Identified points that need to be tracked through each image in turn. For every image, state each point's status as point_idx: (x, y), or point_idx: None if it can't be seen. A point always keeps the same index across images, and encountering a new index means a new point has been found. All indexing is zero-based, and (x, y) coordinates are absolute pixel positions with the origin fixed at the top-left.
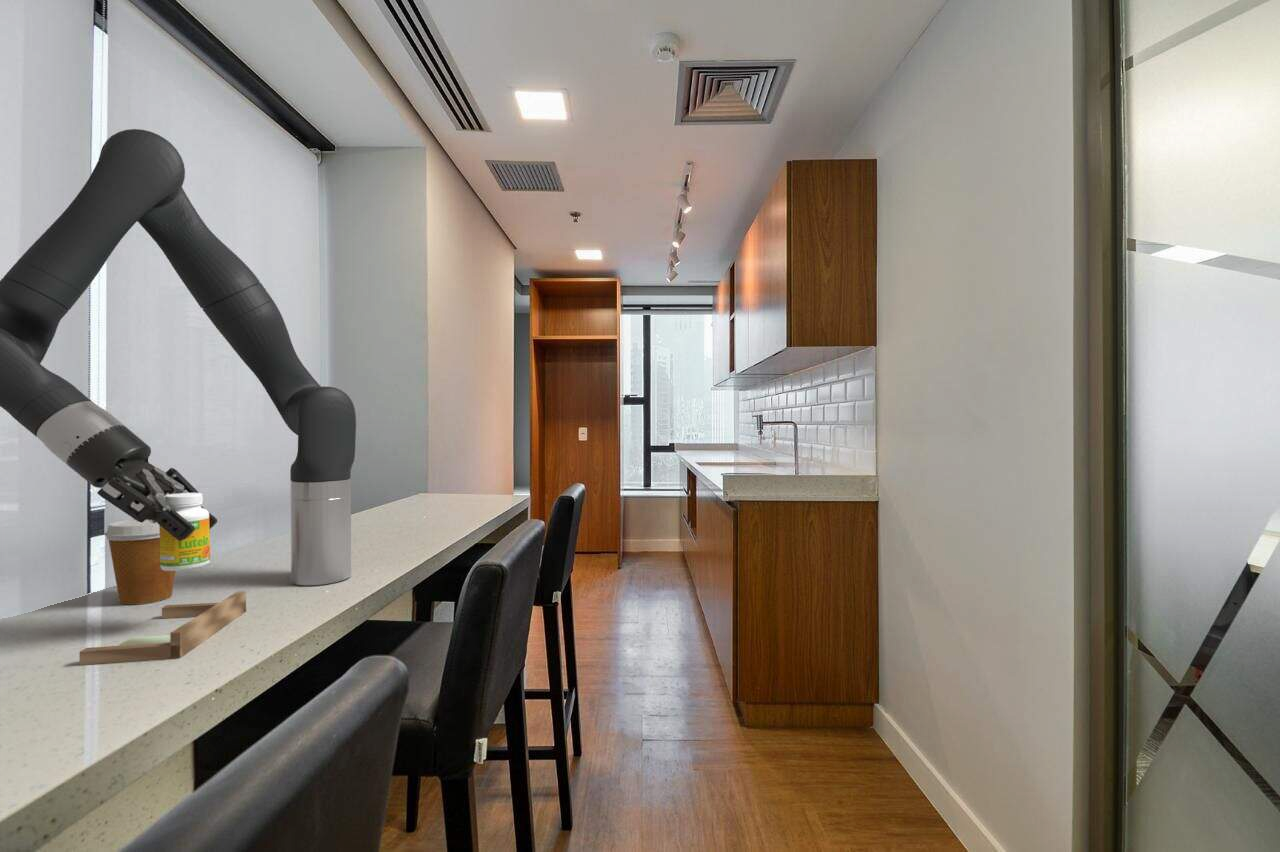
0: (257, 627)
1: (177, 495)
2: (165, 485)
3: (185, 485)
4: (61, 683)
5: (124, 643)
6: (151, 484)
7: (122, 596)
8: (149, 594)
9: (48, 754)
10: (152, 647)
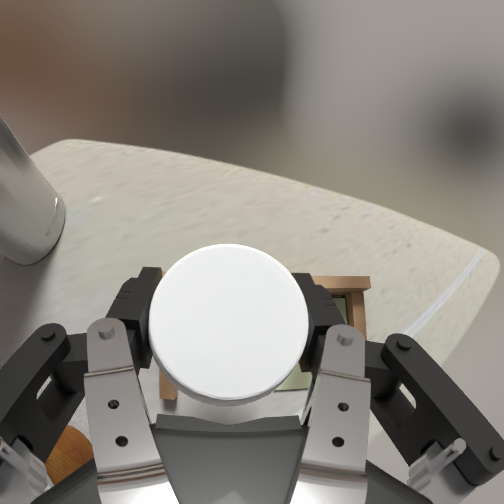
0: (253, 237)
1: (261, 337)
2: (172, 443)
3: (30, 385)
4: None
5: (299, 384)
6: (364, 428)
7: None
8: (86, 446)
9: (482, 279)
10: (364, 311)
